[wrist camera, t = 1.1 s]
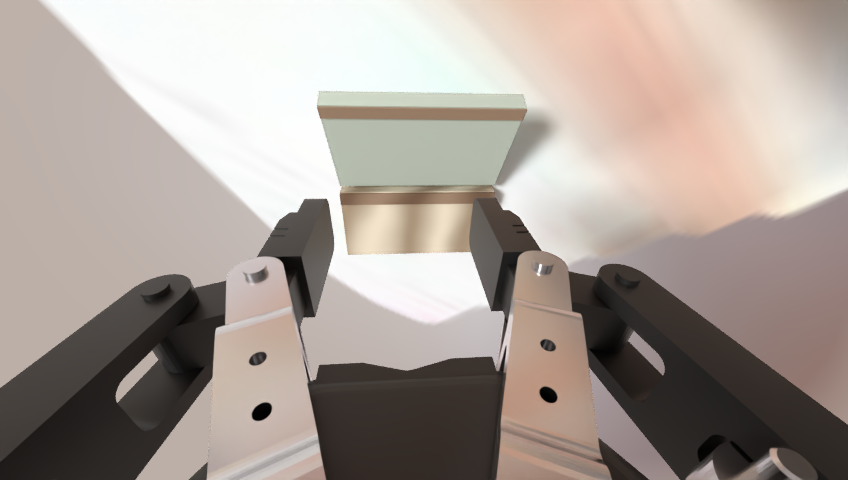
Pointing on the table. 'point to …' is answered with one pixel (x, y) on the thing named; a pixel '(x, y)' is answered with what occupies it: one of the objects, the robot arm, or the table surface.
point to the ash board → (409, 218)
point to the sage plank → (419, 136)
